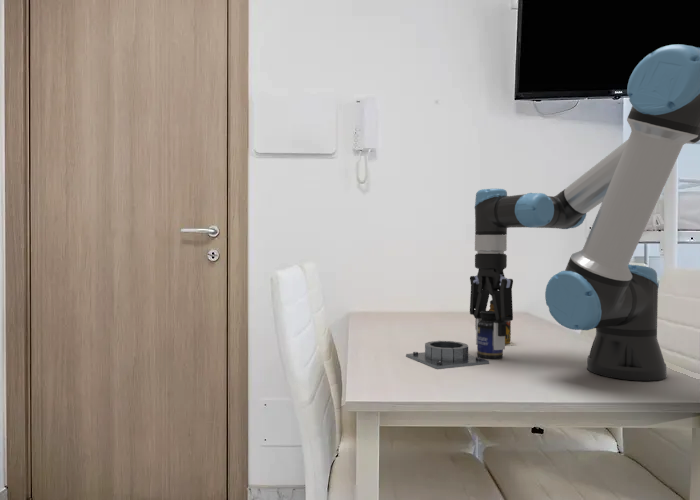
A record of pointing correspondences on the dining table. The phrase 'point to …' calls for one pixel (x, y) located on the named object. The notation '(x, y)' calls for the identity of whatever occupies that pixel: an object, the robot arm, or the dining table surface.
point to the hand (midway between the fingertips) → (490, 346)
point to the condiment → (508, 327)
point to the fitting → (446, 355)
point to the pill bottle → (487, 336)
